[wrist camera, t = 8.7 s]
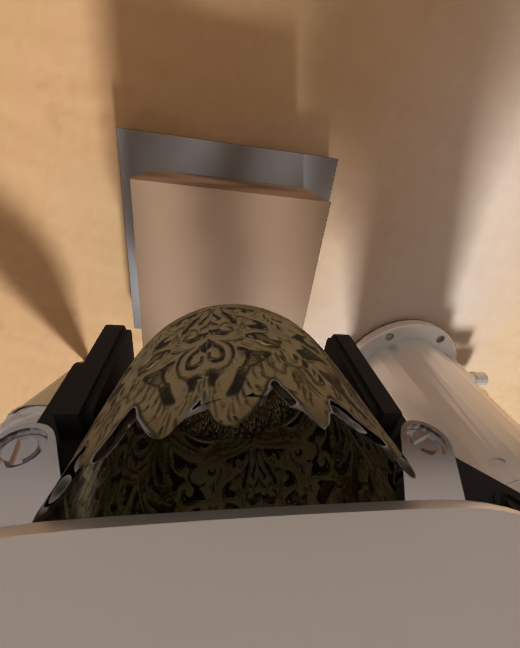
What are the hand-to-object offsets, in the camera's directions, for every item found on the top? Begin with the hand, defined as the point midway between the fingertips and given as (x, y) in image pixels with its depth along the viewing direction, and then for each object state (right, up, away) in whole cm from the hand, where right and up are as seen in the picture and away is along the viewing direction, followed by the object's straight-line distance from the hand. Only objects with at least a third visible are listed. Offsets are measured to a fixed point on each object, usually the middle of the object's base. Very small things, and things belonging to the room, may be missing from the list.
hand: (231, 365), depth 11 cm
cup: (0, +1, +2) cm, 2 cm away
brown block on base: (-2, +8, +13) cm, 16 cm away
